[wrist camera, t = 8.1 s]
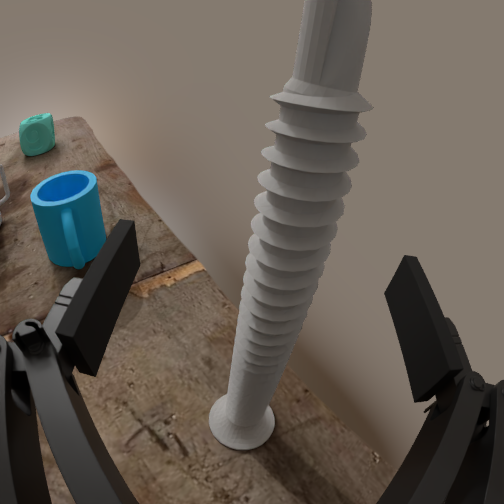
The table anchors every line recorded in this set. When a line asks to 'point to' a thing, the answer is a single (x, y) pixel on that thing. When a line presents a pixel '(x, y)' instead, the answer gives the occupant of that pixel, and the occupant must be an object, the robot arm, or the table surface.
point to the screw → (295, 211)
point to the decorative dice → (37, 134)
